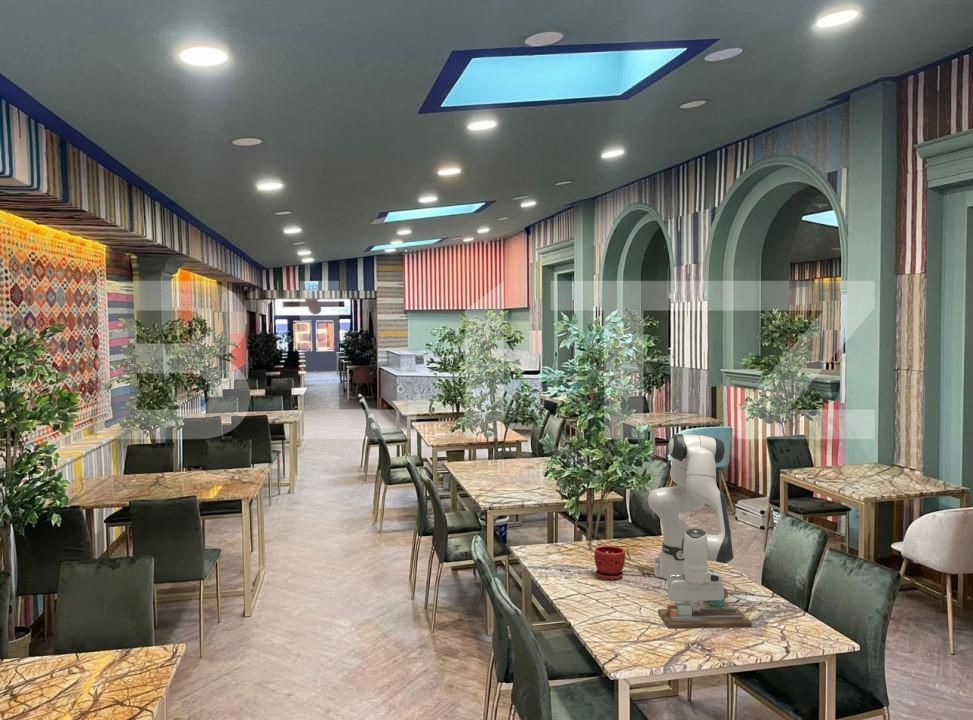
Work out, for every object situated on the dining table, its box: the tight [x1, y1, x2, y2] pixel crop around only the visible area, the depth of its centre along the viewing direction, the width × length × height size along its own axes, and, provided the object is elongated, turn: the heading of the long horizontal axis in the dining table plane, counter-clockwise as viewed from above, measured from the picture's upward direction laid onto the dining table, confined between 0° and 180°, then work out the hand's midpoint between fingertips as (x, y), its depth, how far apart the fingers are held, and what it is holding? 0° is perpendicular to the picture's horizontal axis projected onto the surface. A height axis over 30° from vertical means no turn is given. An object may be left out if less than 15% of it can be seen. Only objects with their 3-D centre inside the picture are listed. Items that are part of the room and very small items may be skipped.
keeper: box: [673, 601, 692, 616], centre depth 262 cm, size 5×5×4 cm
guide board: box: [657, 602, 753, 629], centre depth 262 cm, size 14×30×5 cm, turn 91°
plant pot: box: [593, 545, 626, 581], centre depth 310 cm, size 13×13×12 cm
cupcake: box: [708, 587, 729, 608], centre depth 277 cm, size 9×8×12 cm
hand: (695, 611), depth 262 cm, fingers closed
